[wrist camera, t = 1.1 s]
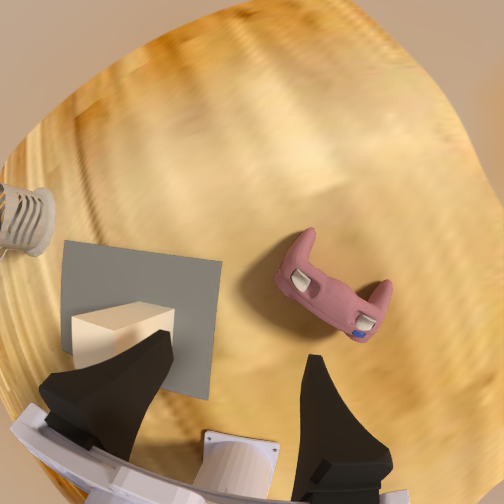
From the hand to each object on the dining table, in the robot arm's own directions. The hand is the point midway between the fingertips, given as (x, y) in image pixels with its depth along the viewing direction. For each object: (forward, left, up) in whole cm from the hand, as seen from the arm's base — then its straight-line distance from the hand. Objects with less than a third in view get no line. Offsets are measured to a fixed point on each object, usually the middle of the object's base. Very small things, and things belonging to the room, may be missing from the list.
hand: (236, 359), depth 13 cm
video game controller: (+4, -6, -12) cm, 14 cm away
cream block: (-2, +10, -11) cm, 15 cm away
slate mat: (-2, +14, -11) cm, 18 cm away
